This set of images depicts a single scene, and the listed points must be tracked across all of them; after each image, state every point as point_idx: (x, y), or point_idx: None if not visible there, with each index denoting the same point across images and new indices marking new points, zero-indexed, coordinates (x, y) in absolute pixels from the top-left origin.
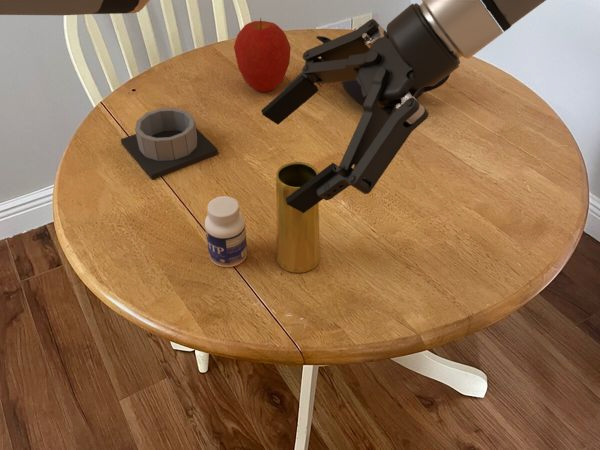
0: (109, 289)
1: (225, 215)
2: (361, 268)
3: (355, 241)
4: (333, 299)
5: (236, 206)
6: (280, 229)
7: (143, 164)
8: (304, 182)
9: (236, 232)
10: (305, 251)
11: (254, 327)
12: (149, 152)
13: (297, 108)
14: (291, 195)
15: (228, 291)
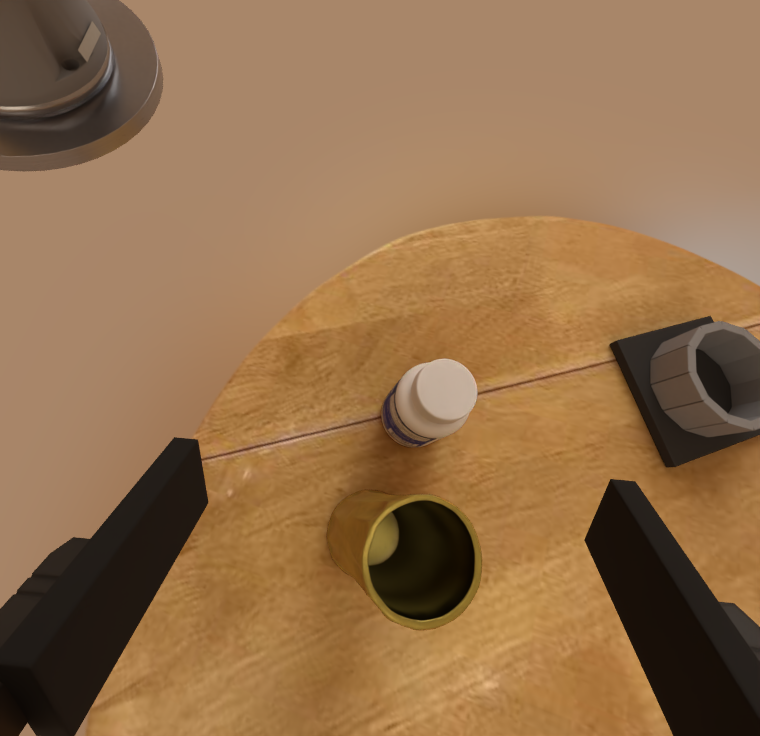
0: (394, 244)
1: (418, 385)
2: (298, 654)
3: (373, 670)
4: (246, 565)
5: (439, 414)
6: (374, 495)
7: (644, 335)
8: (442, 583)
9: (399, 411)
10: (334, 539)
11: (245, 411)
12: (668, 344)
13: (629, 638)
14: (179, 456)
15: (333, 394)
